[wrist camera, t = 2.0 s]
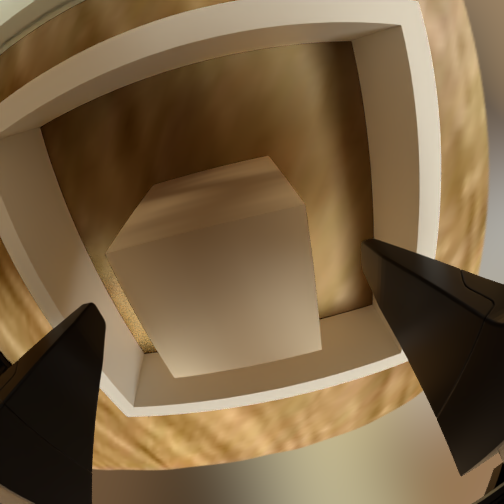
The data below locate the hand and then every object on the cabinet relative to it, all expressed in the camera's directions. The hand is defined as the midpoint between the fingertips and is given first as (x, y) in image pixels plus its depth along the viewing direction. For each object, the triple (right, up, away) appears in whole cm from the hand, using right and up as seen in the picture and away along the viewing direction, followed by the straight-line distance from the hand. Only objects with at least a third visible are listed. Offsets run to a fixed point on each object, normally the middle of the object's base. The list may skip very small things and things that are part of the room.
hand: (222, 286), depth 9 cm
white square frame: (0, +2, +4) cm, 5 cm away
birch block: (0, +2, +4) cm, 5 cm away
